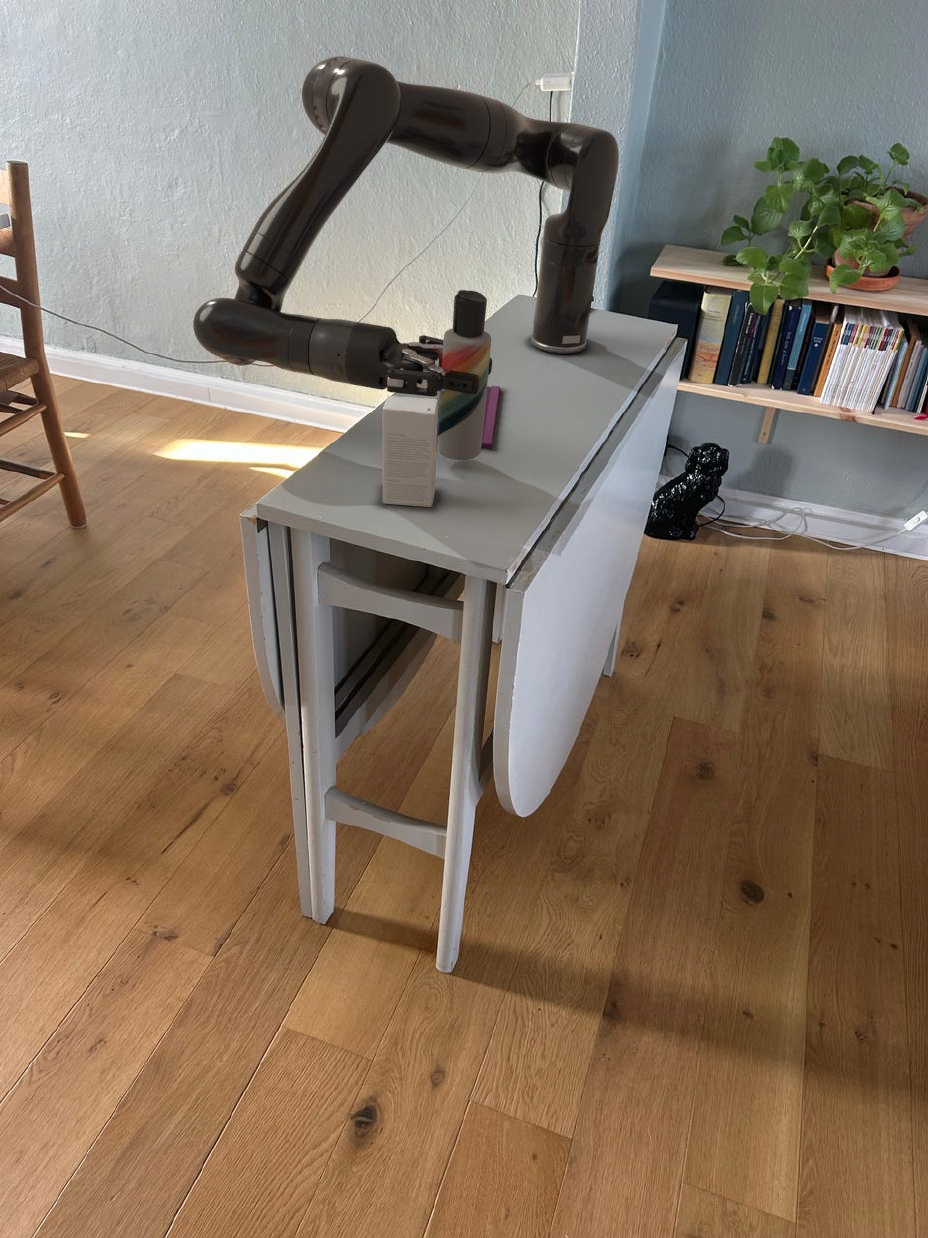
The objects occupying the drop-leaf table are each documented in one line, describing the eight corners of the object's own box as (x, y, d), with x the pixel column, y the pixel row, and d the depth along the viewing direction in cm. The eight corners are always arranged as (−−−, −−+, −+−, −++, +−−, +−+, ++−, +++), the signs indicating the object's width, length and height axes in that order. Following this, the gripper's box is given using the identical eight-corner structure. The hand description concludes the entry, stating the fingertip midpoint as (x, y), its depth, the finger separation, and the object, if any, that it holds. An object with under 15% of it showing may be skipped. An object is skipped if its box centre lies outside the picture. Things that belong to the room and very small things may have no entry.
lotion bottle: (438, 439, 117) (447, 283, 105) (481, 442, 117) (495, 287, 105) (435, 459, 112) (445, 298, 100) (480, 462, 112) (495, 302, 100)
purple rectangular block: (448, 385, 136) (448, 381, 135) (500, 390, 136) (500, 386, 135) (433, 442, 120) (433, 438, 119) (492, 448, 120) (493, 443, 119)
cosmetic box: (435, 491, 109) (439, 398, 102) (432, 508, 106) (436, 413, 98) (386, 487, 109) (387, 393, 102) (381, 504, 106) (381, 409, 99)
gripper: (331, 342, 103) (473, 366, 100) (373, 305, 114) (501, 326, 111) (332, 403, 107) (468, 428, 105) (372, 362, 119) (496, 384, 116)
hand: (484, 375), depth 108 cm, fingers closed on lotion bottle, 5 cm apart
